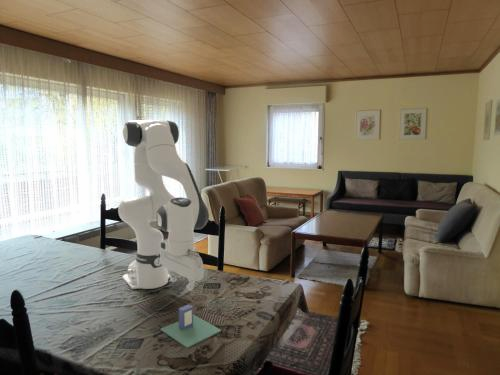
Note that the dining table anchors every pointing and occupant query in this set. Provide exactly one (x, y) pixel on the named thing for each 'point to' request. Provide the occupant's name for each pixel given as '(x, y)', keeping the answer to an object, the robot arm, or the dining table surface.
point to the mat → (191, 332)
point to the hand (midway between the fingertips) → (181, 285)
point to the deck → (185, 317)
